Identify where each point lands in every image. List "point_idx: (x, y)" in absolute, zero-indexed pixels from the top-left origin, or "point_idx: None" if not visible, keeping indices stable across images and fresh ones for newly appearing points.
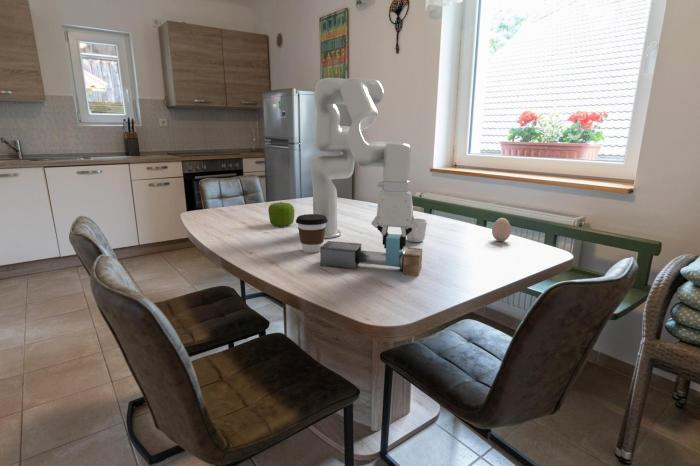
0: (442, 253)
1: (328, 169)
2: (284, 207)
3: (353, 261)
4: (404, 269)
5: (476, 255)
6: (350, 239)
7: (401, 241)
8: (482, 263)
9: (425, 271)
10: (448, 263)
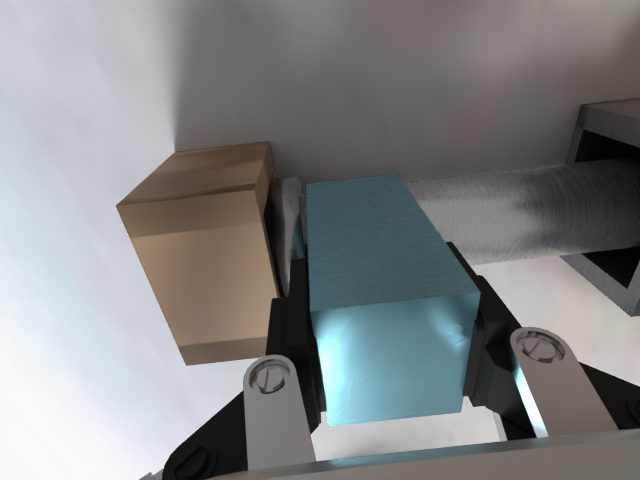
0: None
1: None
2: None
3: (635, 114)
4: (257, 152)
5: (77, 471)
6: None
7: (297, 306)
8: (3, 414)
9: None
10: (126, 370)
